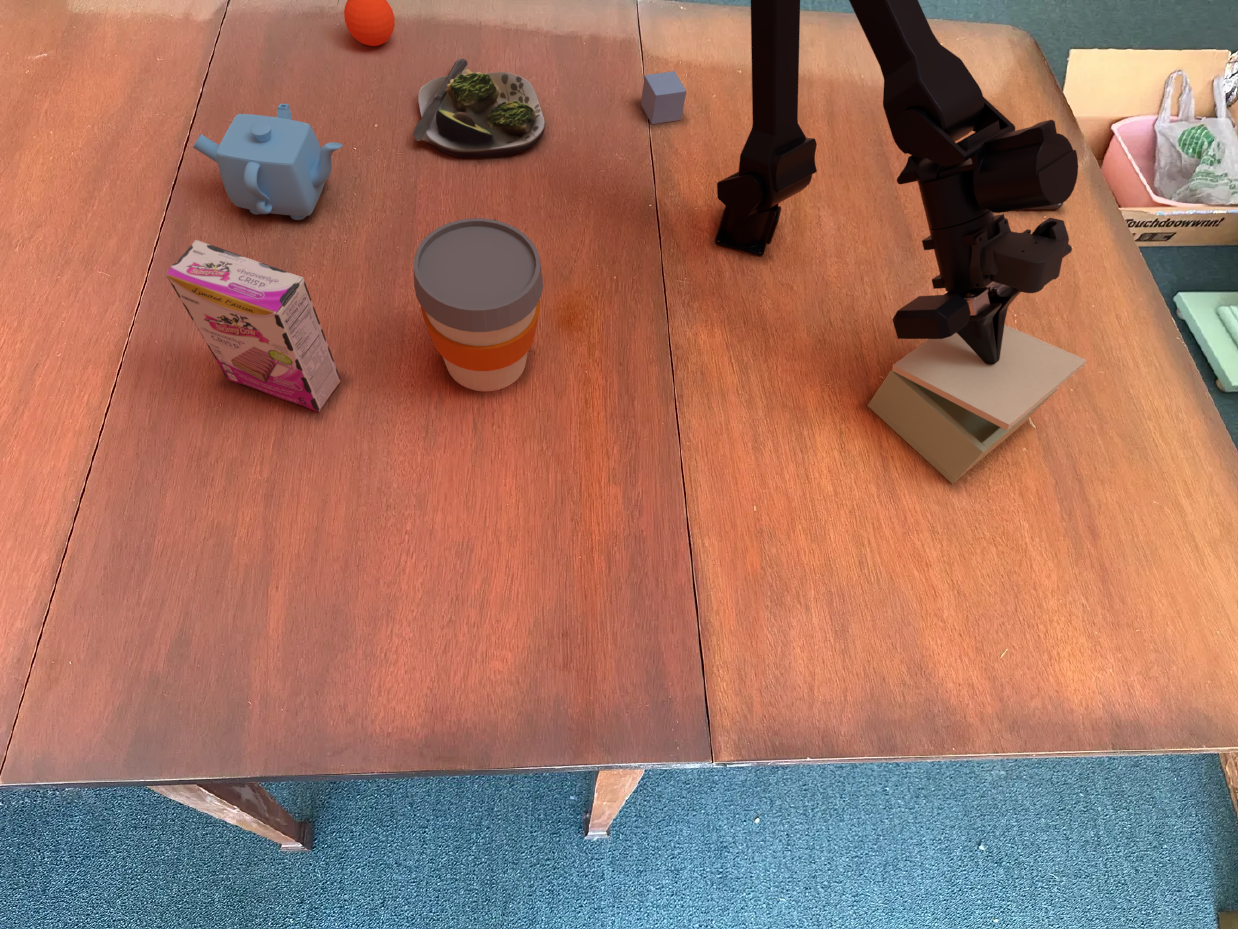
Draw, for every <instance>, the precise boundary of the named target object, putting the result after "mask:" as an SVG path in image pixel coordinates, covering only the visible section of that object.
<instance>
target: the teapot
mask: <svg viewBox="0 0 1238 929" xmlns="http://www.w3.org/2000/svg"><path fill="white" fill-rule="evenodd" d="M321 146H322V145H321V144H320V142H319V140H318V137H317V135H316V133H315V131H314V129H313V127H312V126H311V124H309V123H307V122H304V121H299V120H294V119H293V115H292V111H291V106H290V104H289V103H280V104H279V105H278V106H277V110H276V116H271V115H270V116H269V115H261V114H250V113H237V114H236V115H235V116H234V117H233V119H232V122H231V123H230V125H229V127H228V128H227V130H226V132H225V134H224V136H223V137H222V139H221V141H220V143H219V144H218V143H217V142H215V141H213V140H212V139H210V138H209V137H207V136H206V135H204V134H202V133H201V134H199V135H198V137H197V138H196V140H195V142H194V143H193V146H192V148H193V149H195V150H196V151H198V152H199V153H201V154H202V155H204V156H206V157H207V158H209V159H210V160H212V161H213V162H215V163H216V164H217V165H218V170H219V175H220V178H221V182H222V184H223V187H224V190H225V192H226V195H227V197H228V198H229V200H230V201H231V203H232V204H233V205H234V206H235V207H238V208H242V209H246V210H249V212H250V213H251V214H253V215H268V214H274V215H282V216H283V215H284V216H290V218H291V219H292V220H295V221H301V220H304V219H305V218H306V217H308V216H309V217H310V216H311V215H312V213H313V212H314V210H315V208H316V206H317V204H318V202H319V199H320V197H321V194H322V192H323V189H324V187H325V184H326V182H327V181H328V180H329V178H330V176H331V173H332V167H333V166H332V163H333V162H332V156H333V153H334V152H335V151H337V150H339V149H341V148H343V146H344V145H343V144H342V143H340V142H328V143H325V144H323V146H322V147H321Z"/></svg>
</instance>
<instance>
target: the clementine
mask: <svg viewBox="0 0 1238 929" xmlns="http://www.w3.org/2000/svg"><path fill="white" fill-rule="evenodd" d="M339 3H340V0H337V4H336V6H338V5H339ZM343 18H344V23H345V26H346V28H347V31H348V32H349V33H350V34H351V36H352V37H353V38H354V39H355V40H356V41H358V42H359V43H360V44H362V45H366V46H369V47H378V46H381V45H383V44H385V43H386V42H388V41H389V40H390V38H391V36H392V35H393V33H394V30H395V26H396V22H395V21H396V20H395V18H396V17H395V13H394V11H393V8H392V7H391V4H390V3H389V2H388V0H347V1H346V2H345V5H344V10H343Z"/></svg>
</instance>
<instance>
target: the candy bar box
mask: <svg viewBox="0 0 1238 929" xmlns="http://www.w3.org/2000/svg"><path fill="white" fill-rule="evenodd" d="M165 277H166V278H167V279H168V280H169V283H170V284H171V287H172V288H173V290H174V291H175V293H176V295H177V297H178V299H179V300H180V302H181V303H182V305H183V307H184V308H185V310H186V312H187V314H188V315H189V317H190V319H191V321H192V322H193V324H194V325H195V327H196V328H197V330H198V332H199V333H200V335H201V337H202V340H203V341H204V342H205V344H206V346H207V348H208V349H209V350H210V352H211V354H212V356H213V358H214V359H215V360H216V363H217V364H218V366H219V367H220V370H221V371H222V373H223V375H224V376H225V379H226V380H228V381H229V382H233V383H236V384H239V385H242V386H245V387H247V388H250V389H253V390H256V391H259V392H262V393H265V394H266V395H270V396H273V397H276V398H278V399H281V400H283V401H286V402H289V403H292V404H296V405H298V406H301V407H303V408H306V409H309V410H312V411H314V412H317V413H320V412H321V411H322V410H323V408H324V407H325V405H326V404H327V402H328V400H329V399H330V397H331V395H332V394H333V393H334V392H335V390H336V389H337V388H338V386H339V384H340V383H341V381H342V379H341V376H340V374H339V370H338V368H337V365H336V362H335V360H334V357H333V355H332V352H331V349H330V346H329V343H328V341H327V338H326V336H325V333H324V330H323V327H322V325H321V322H320V319H319V316H318V314H317V311H316V309H315V306H314V302H313V300H312V298H311V295H310V291H309V289H308V287H307V284H306V281H305V278H304V277H303V276H301V275H298V274H295V273H292V272H289V271H286V270H283V269H281V268H278V267H275V266H272V265H269V264H267V263H263V262H261V261H258V260H255V259H252V258H249V257H246V256H245V255H244V256H243V255H241V254H238V253H235V252H232V251H229V250H226V249H225V248H224V249H223V248H220V247H218V246H215V245H213V244H209V243H206V242H204V241H202V240H198V239H195V240H194V241H193V242H192V243H191V245H190V246H189V247H187V250H186V251H185V252H184V253H183V254H182V255H181V256H180V257H179V258H178V260H177V262H175V263H173V264H172V265H171V266H170V267H169V269H168V270H167V271H166V273H165Z"/></svg>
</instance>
